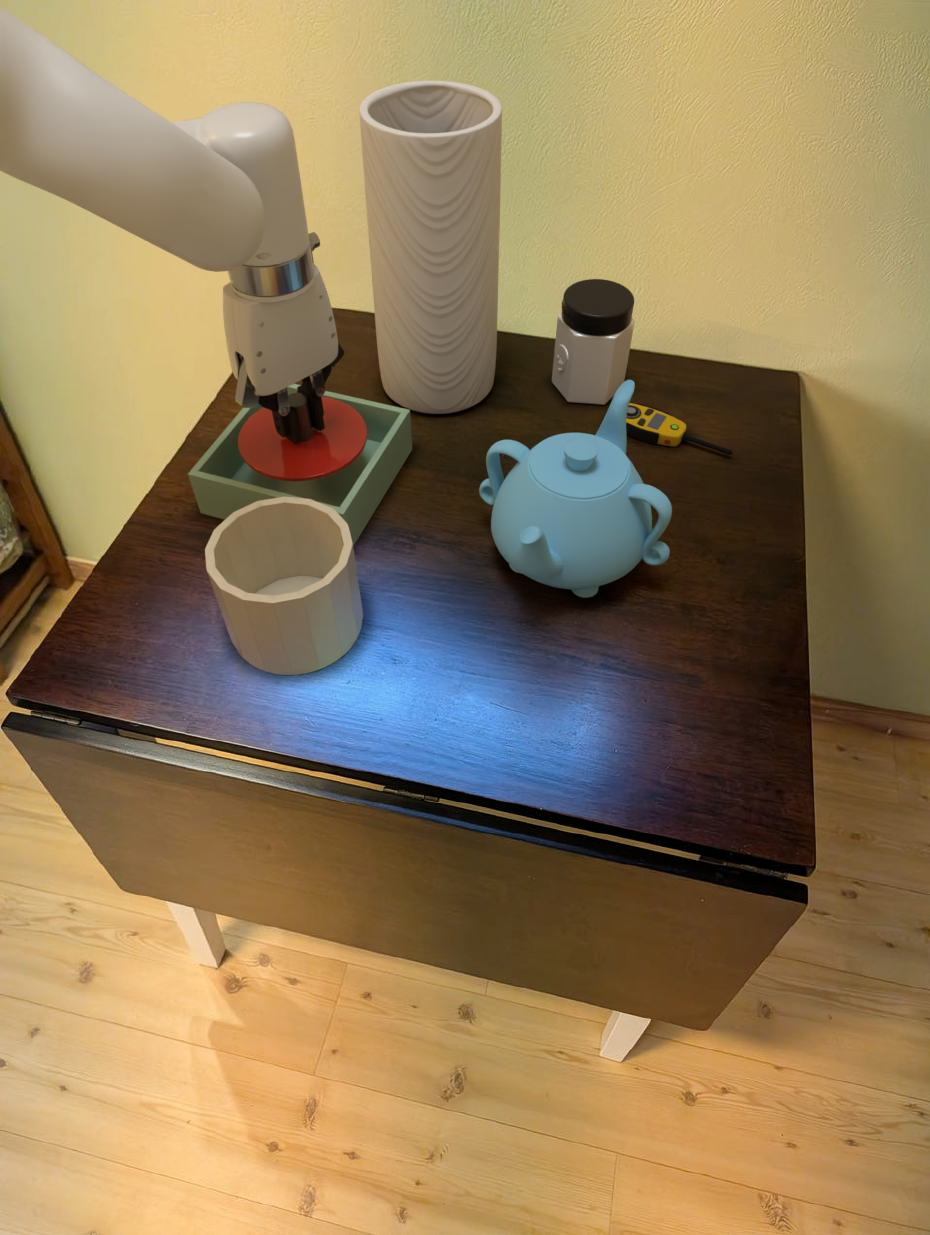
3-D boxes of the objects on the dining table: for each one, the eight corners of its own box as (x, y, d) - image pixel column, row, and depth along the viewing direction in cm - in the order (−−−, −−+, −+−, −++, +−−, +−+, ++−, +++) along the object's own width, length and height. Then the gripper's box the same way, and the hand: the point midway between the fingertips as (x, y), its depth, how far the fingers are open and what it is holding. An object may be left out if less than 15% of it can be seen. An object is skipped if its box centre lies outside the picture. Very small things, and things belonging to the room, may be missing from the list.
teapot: (614, 483, 94) (633, 375, 83) (676, 615, 82) (708, 510, 71) (471, 503, 92) (472, 396, 81) (514, 642, 80) (522, 538, 69)
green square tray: (349, 553, 87) (343, 514, 83) (200, 513, 91) (187, 473, 87) (412, 449, 98) (410, 409, 93) (276, 417, 101) (268, 377, 97)
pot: (237, 687, 77) (210, 614, 69) (226, 586, 84) (201, 510, 76) (373, 659, 79) (363, 585, 71) (351, 563, 86) (339, 486, 78)
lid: (246, 496, 85) (234, 452, 81) (234, 414, 93) (223, 371, 89) (378, 473, 87) (373, 430, 83) (356, 395, 96) (350, 352, 91)
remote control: (621, 393, 101) (742, 433, 97) (619, 406, 103) (738, 446, 98) (604, 415, 99) (728, 457, 94) (602, 428, 100) (723, 470, 95)
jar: (541, 373, 107) (549, 285, 98) (598, 358, 109) (610, 270, 100) (574, 413, 102) (585, 324, 93) (633, 397, 104) (649, 309, 95)
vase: (399, 343, 111) (381, 73, 87) (505, 359, 109) (518, 86, 85) (365, 409, 102) (335, 128, 78) (480, 427, 100) (486, 144, 76)
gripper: (315, 220, 80) (338, 383, 94) (168, 282, 73) (217, 449, 87) (367, 248, 77) (382, 413, 91) (217, 317, 70) (260, 484, 84)
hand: (301, 429), depth 89 cm, fingers closed on lid, 2 cm apart
